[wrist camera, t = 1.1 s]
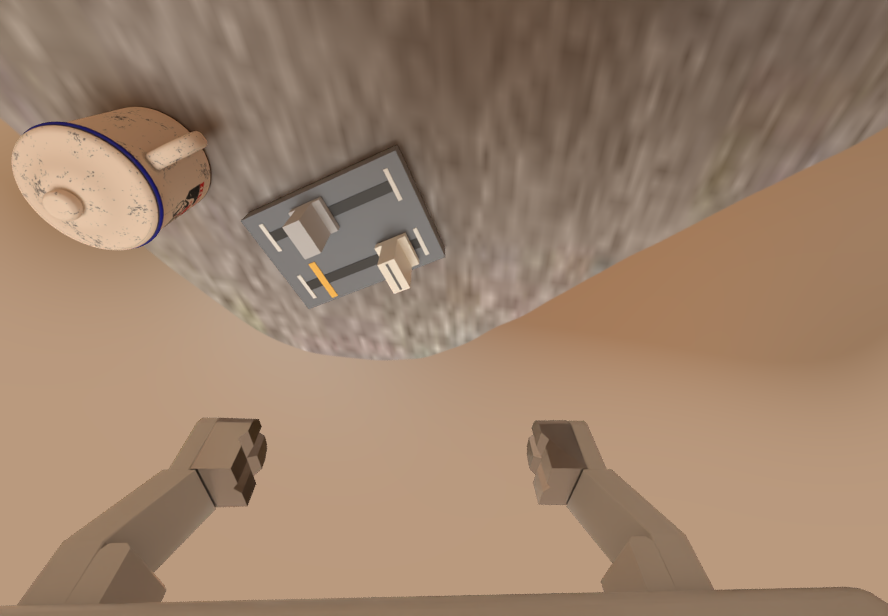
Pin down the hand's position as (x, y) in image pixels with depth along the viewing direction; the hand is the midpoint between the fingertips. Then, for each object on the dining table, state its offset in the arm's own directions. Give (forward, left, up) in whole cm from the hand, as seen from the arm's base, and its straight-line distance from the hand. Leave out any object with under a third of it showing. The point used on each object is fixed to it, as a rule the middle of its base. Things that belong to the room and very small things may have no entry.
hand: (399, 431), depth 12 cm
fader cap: (+5, +6, -27) cm, 28 cm away
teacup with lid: (+20, -9, -29) cm, 36 cm away
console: (+9, +3, -29) cm, 30 cm away
